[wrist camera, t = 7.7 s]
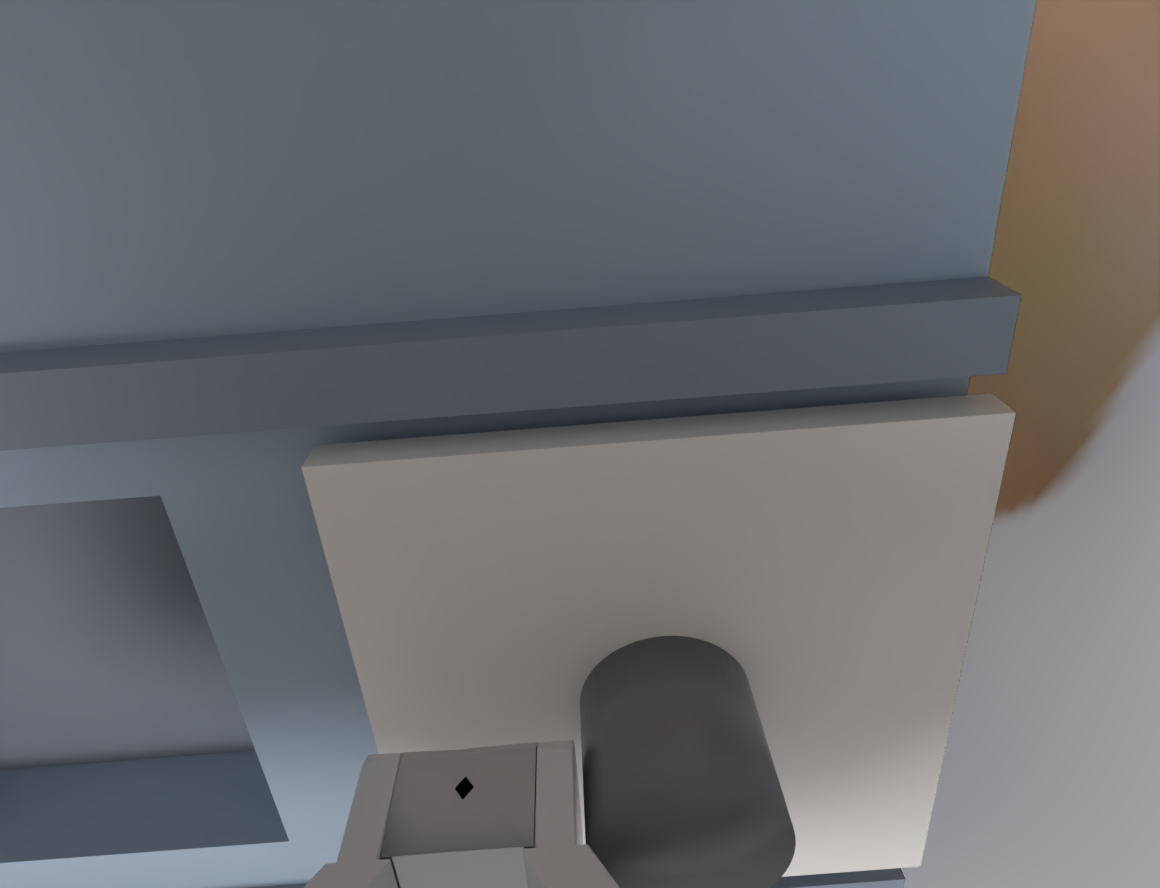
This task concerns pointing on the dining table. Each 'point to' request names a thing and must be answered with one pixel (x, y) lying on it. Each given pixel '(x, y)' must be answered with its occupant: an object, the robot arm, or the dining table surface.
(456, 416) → the puzzle board
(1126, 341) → the dining table surface
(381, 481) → the lid
